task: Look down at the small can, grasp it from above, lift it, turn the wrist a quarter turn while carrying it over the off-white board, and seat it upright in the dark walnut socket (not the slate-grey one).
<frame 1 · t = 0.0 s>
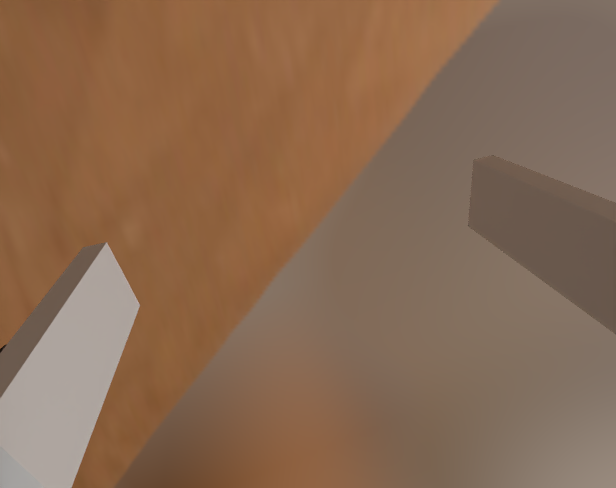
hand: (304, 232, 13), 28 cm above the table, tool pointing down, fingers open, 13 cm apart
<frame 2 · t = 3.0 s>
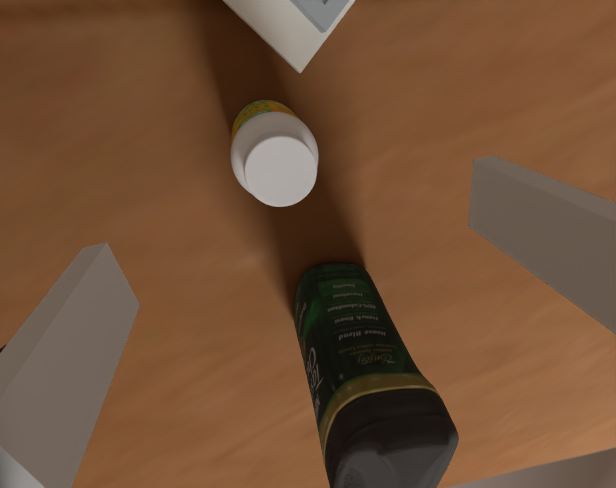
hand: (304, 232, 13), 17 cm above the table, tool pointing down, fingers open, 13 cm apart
coffee jar: (328, 297, 36), on the table
supplement bottle: (266, 135, 27), on the table
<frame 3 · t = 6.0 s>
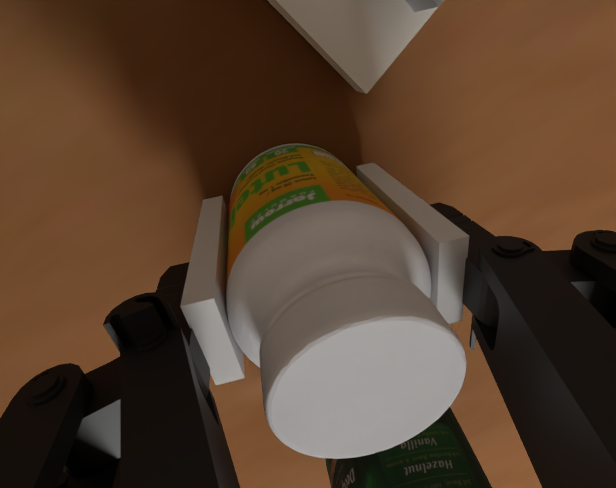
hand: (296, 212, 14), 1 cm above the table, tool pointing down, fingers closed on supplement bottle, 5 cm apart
coffee jar: (376, 421, 24), on the table
supplement bottle: (292, 202, 15), on the table, touching gripper
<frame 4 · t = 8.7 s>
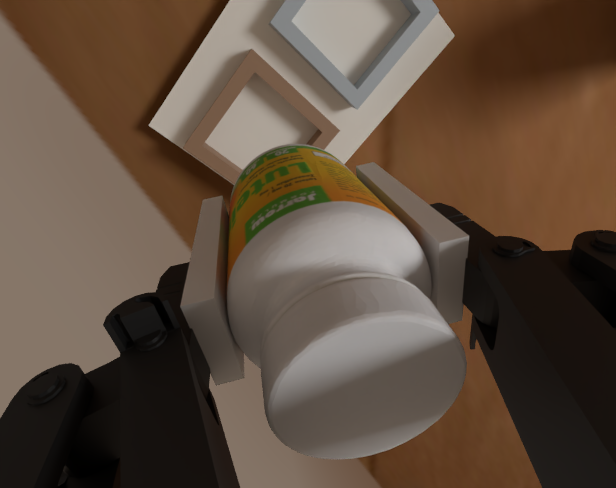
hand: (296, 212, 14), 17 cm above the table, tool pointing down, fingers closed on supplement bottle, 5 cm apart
socket board: (301, 78, 27), on the table
supplement bottle: (292, 203, 15), point 16 cm above the table, touching gripper
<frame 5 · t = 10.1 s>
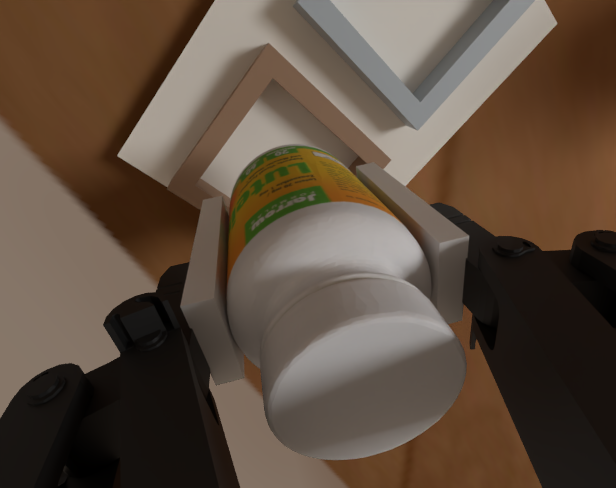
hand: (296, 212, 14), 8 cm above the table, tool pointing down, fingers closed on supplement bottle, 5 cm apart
socket board: (336, 86, 19), on the table
supplement bottle: (292, 203, 15), point 7 cm above the table, touching gripper
when the fingers open (4 cm above the table, at t = 11.4 s): supplement bottle drops 2 cm, resting on socket board.
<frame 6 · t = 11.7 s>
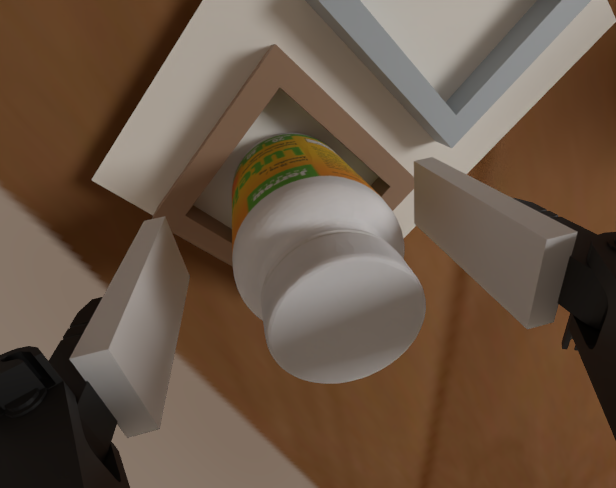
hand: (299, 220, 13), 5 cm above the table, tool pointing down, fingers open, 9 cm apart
socket board: (353, 95, 16), on the table
supplement bottle: (288, 187, 17), point 1 cm above the table, touching socket board
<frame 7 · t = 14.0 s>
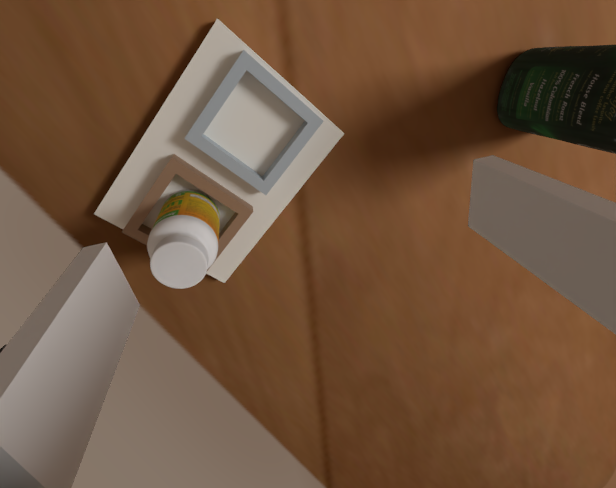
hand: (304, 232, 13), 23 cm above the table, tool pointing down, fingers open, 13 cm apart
coffee jar: (534, 91, 36), on the table
socket board: (221, 169, 33), on the table
supplement bottle: (191, 214, 34), point 1 cm above the table, touching socket board
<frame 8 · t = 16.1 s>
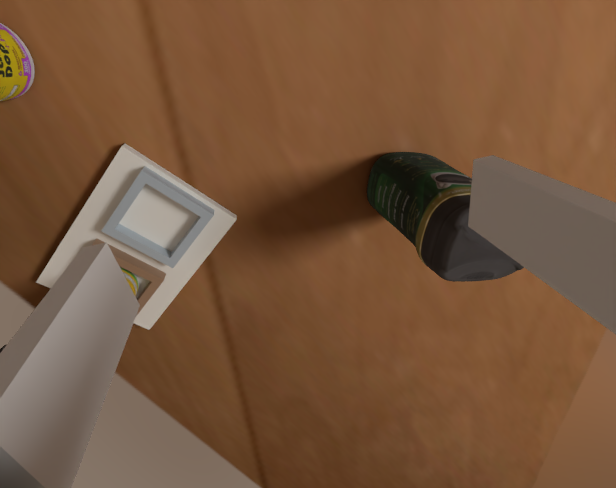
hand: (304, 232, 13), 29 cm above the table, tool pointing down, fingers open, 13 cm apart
coffee jar: (400, 181, 44), on the table
socket board: (139, 245, 42), on the table
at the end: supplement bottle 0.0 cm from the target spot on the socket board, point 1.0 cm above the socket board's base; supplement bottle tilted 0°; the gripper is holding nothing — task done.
